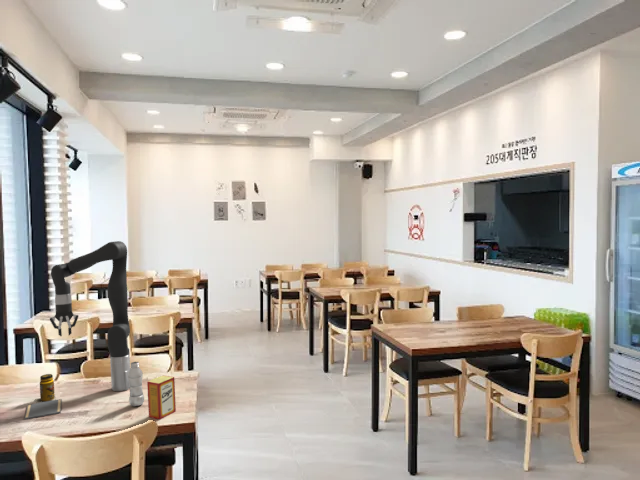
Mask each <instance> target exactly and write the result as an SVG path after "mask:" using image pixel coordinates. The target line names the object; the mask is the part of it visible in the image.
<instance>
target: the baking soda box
mask: <svg viewBox="0 0 640 480" xmlns="http://www.w3.org/2000/svg"><path fill="white" fill-rule="evenodd" d="M146 383H147V384H146V385H147V403H148V405H147V406H148V407H147V408H148V418H151V419H155V420H162V419H164V418H167V417H168V416H170V415H171V414H173V413H176V411H177V409H176V386H175V385H176V384H175V383H176V381H175V376H170V375H160V376H158V377H154V378H152V379H150V380H148V381H147V382H146Z"/></svg>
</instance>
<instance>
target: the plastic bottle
mask: <svg viewBox="0 0 640 480" xmlns="http://www.w3.org/2000/svg"><path fill="white" fill-rule="evenodd" d="M130 368H131V370H130V371H129V373H128V379H129V384H130V388H129V399H128V402H129V405H130V406H131V407H138V406H139V407H140V406H141V405H143V404H144V402H145V396H144V391H143V376H144V375H143V373H144V372H143V371H142V369H141V368H140V362H139V361H133V362H130Z"/></svg>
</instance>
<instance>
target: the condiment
mask: <svg viewBox="0 0 640 480" xmlns="http://www.w3.org/2000/svg"><path fill="white" fill-rule="evenodd" d="M39 379H40V380H39V391H40V392H39V395H40V396H39V397H40V398H39V397H38V398H35V400H34V401H35V403H41V402H46V401H52V400H57V398H56V394H55V383H54V382H55V380H54V376H53V374H52V373H45V374H42V375H41V376H40V378H39Z"/></svg>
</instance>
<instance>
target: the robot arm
mask: <svg viewBox="0 0 640 480" xmlns="http://www.w3.org/2000/svg"><path fill="white" fill-rule="evenodd" d="M107 261H112V269H111V274H110V276H109V279H108V284H107V298H108V303H109V305H110V308H111V311H112V326H111V327H110V328H109V329H108V331H107V335H106V336H107V337H106V338H107V347H108V348H107V349H108V352H109V358H110V359H109V360H110V362H109V363H110V379H111V380H110V381H111V383H110V385H111V391H114V392H123V391H128V390H130V384H129V379H128V373H129V371H130V370H131V357H130V348H129V347H128V338H129V336H130V333H131V328H130V322H129V313H128V312H129V311H128V310H129V309H128V308H129V306H128V305H129V304H128V303H129V301H128V282H127V280H128V279H127V275H128V274H127V273H128V272H127V262H128V248H127V245H126V244H125V243H124V241H120V240H119V241H117V240H116V241H115V240H114V241H110V242H107V243H105V244H104V245H102V246H100V247H99V248H97V249H95V250H93V251H91V252H89V253H87V254H84V255H83V254H82V255H81V256H78V257H76V258H72V259H71V260H70V261H68V262H66V263H65V262H64V263H60V264H55V265H53V266H52V268H51V270H50V277H51V279H52V283H53V285H54V291H55V292H54V294H55V297H54V304H55V307H54V308H55V314H54V316H52V317H49V321H50V323H51V325H52V326H53V328H54V329H57V330H58V331H57V332H58V336H59V337H62V336H63V333H62V332H63V331H62V323H67V326H68V329H67V332H68V336H71V335H72V328H73V327H75V326H76V324H77V322H78V319H79V314H74V313H73V302H72V294H71V283H69V282H67V281H66V280H65V279H66V278H68V277H71V276H73V275H75V274H77V273H79V272H83V271H85V270H87V269H89V268H91V267H93V266H94V265H96V264H99V263H103V262H107ZM72 318H73V322H72V323H71V319H72ZM56 320H57V321H58V325H57V324H56V322H55V321H56Z"/></svg>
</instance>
